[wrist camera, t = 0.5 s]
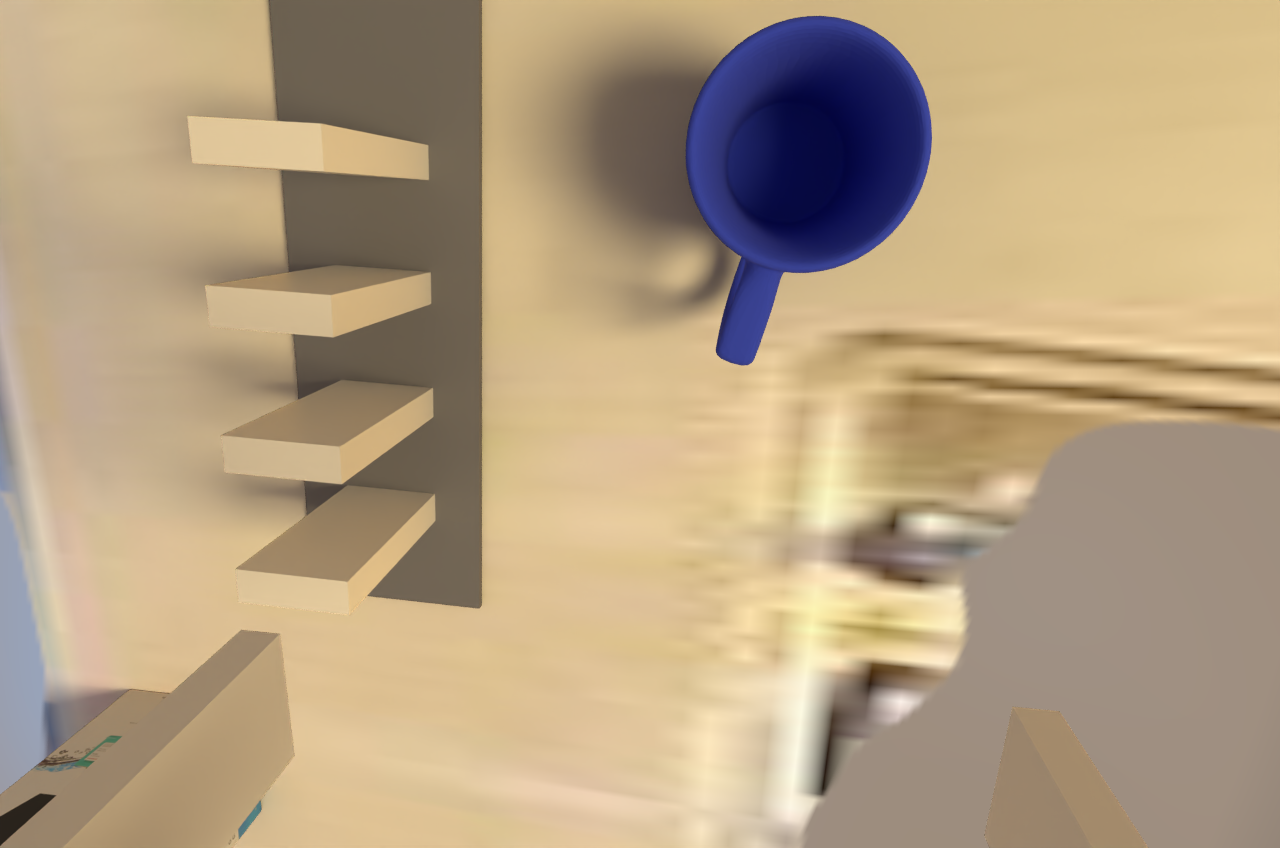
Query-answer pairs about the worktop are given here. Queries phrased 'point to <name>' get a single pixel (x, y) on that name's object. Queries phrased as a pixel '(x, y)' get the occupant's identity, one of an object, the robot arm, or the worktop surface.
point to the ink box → (91, 753)
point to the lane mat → (399, 249)
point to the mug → (803, 158)
